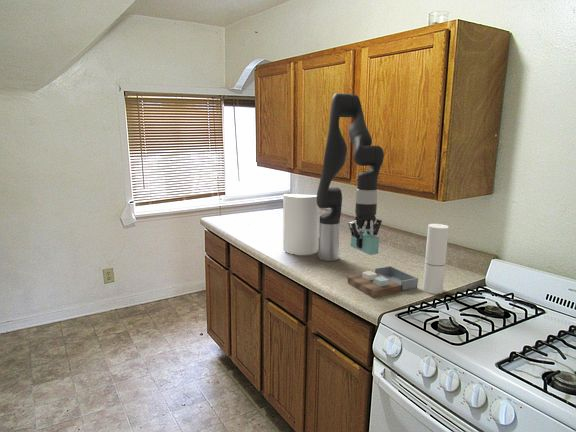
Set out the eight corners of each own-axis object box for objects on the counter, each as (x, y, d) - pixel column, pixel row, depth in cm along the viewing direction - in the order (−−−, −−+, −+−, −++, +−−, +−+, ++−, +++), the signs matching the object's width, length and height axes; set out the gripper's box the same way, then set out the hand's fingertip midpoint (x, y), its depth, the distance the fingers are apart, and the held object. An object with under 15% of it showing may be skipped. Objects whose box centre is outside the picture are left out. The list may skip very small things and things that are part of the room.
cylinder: (315, 256, 197) (316, 198, 191) (279, 253, 200) (280, 196, 194) (319, 246, 213) (321, 192, 207) (287, 244, 216) (287, 191, 211)
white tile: (362, 277, 163) (362, 272, 162) (370, 275, 165) (370, 270, 164) (368, 280, 159) (368, 275, 159) (376, 278, 161) (376, 273, 161)
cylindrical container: (438, 286, 160) (444, 223, 155) (445, 293, 153) (452, 228, 148) (420, 286, 160) (425, 223, 155) (426, 293, 153) (432, 228, 148)
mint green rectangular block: (350, 246, 158) (351, 231, 157) (358, 245, 159) (358, 230, 158) (370, 254, 147) (371, 238, 146) (378, 253, 149) (379, 237, 148)
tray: (374, 277, 169) (375, 268, 168) (389, 274, 173) (390, 265, 172) (401, 291, 155) (402, 281, 154) (417, 288, 159) (418, 278, 158)
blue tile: (373, 282, 157) (373, 277, 156) (381, 281, 158) (381, 276, 158) (380, 286, 153) (380, 281, 153) (388, 284, 155) (388, 279, 154)
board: (347, 282, 163) (347, 276, 163) (374, 277, 169) (374, 272, 168) (373, 297, 149) (373, 291, 149) (400, 291, 155) (401, 285, 154)
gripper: (375, 198, 156) (373, 242, 160) (344, 201, 150) (342, 247, 153) (388, 201, 150) (385, 247, 153) (356, 204, 143) (354, 252, 147)
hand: (364, 247), depth 153 cm, fingers closed on mint green rectangular block, 3 cm apart
